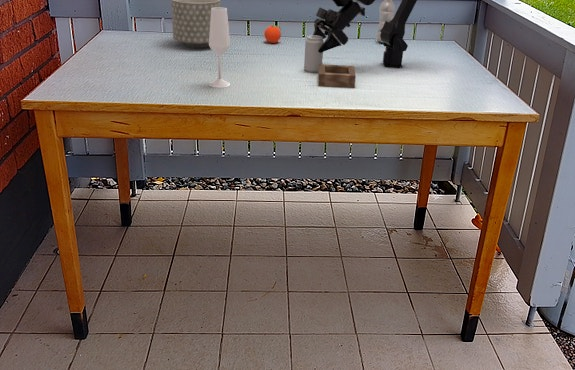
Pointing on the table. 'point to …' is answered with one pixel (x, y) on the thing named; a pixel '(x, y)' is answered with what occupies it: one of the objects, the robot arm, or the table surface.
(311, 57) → the beverage can
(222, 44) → the champagne flute
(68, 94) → the table surface
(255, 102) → the table surface
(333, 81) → the socket block
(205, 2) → the planter
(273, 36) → the clementine
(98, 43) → the table surface
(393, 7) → the plastic bottle
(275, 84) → the table surface
